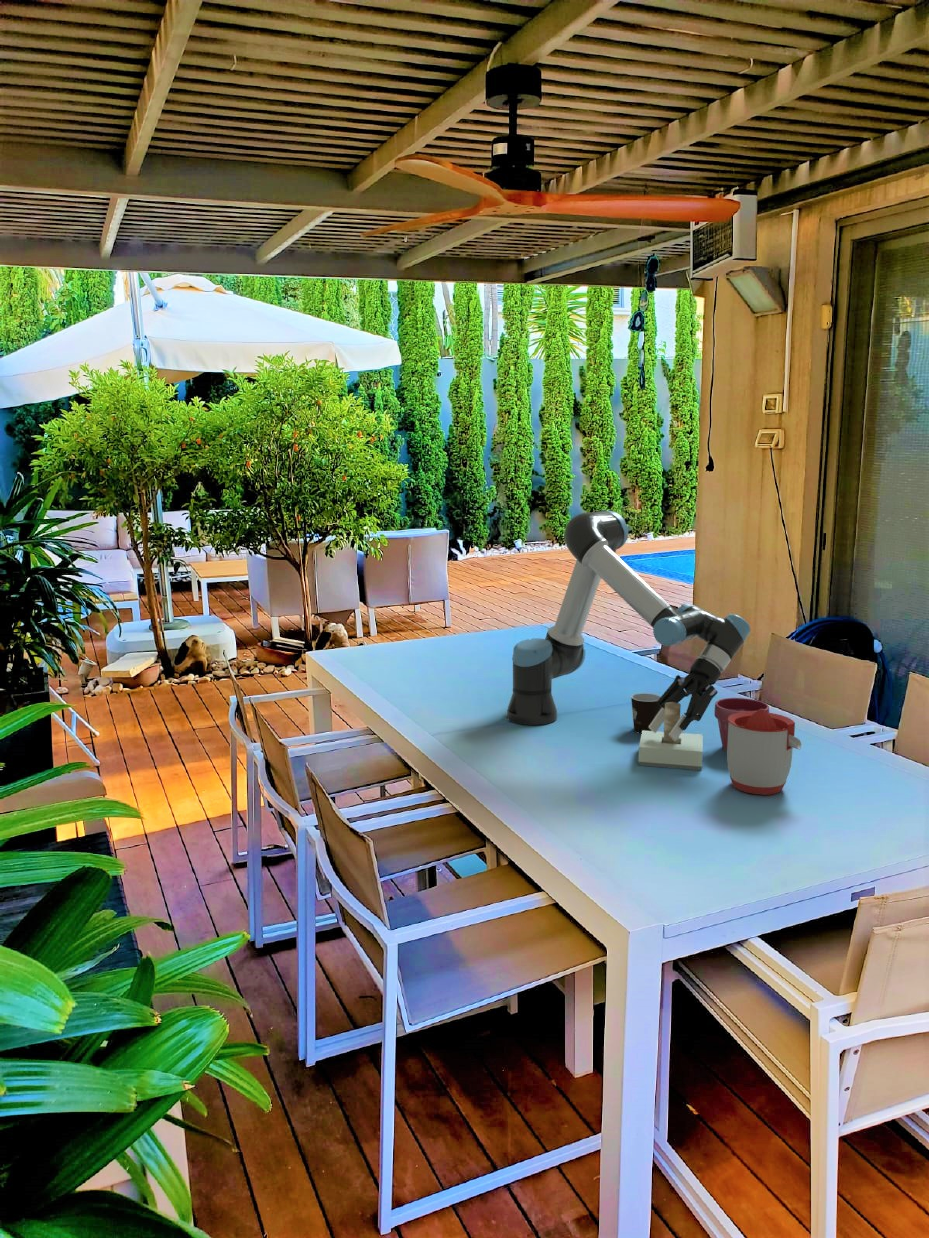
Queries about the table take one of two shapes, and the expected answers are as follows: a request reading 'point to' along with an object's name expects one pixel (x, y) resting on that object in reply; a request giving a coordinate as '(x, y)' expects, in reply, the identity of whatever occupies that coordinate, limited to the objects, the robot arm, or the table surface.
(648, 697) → the coffee mug
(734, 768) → the citrus juicer
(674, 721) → the dowel
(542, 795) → the table surface
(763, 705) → the plant pot
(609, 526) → the robot arm
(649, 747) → the socket block
